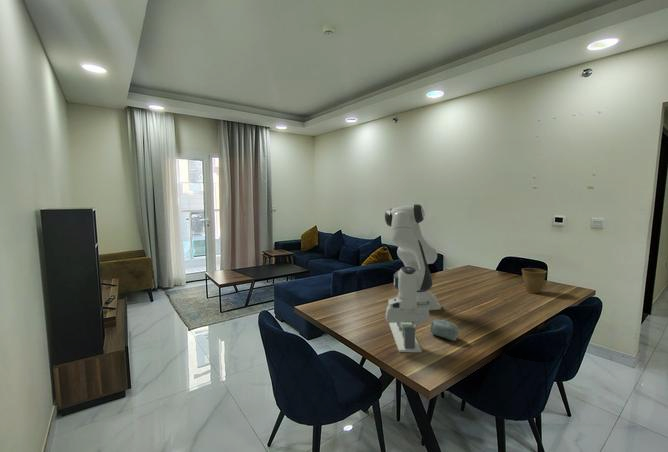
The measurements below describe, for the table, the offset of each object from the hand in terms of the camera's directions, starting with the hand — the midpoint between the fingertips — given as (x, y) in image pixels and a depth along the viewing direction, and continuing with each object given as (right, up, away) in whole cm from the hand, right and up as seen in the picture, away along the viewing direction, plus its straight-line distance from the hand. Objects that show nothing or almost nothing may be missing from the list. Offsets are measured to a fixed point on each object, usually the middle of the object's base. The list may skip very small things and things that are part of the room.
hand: (407, 330), depth 148 cm
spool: (+20, -6, +8) cm, 22 cm away
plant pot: (+108, +2, +77) cm, 133 cm away
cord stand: (0, -6, +8) cm, 10 cm away
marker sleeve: (0, -2, 0) cm, 2 cm away
